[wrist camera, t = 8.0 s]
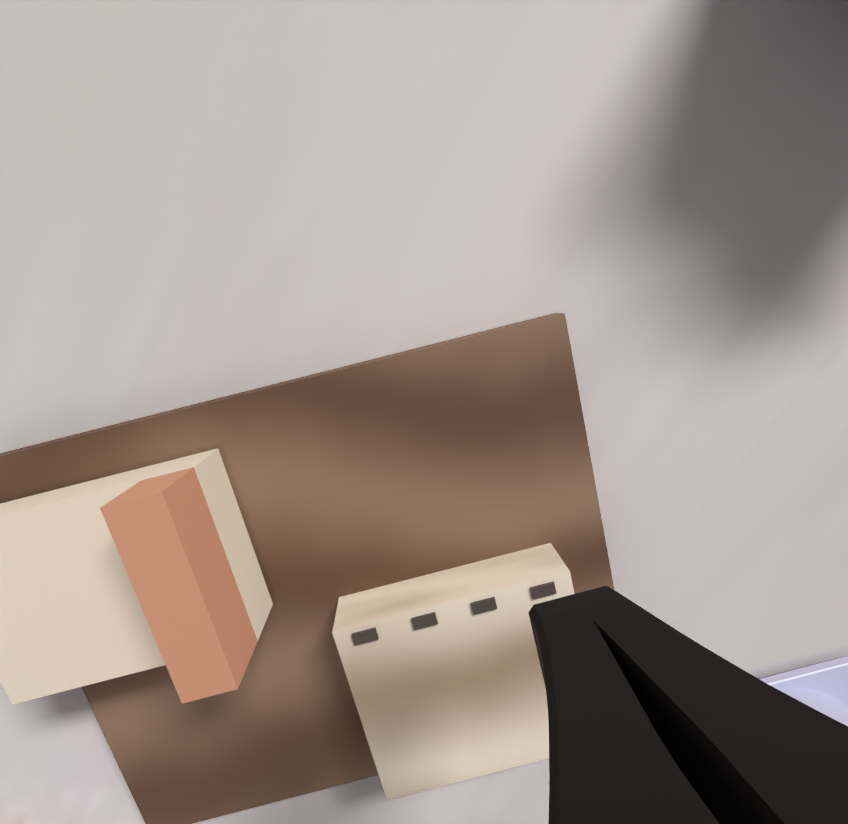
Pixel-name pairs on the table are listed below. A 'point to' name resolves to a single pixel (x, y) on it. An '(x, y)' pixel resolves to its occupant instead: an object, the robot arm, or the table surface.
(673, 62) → the table surface
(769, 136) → the table surface
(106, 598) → the cream block with bar
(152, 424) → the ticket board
